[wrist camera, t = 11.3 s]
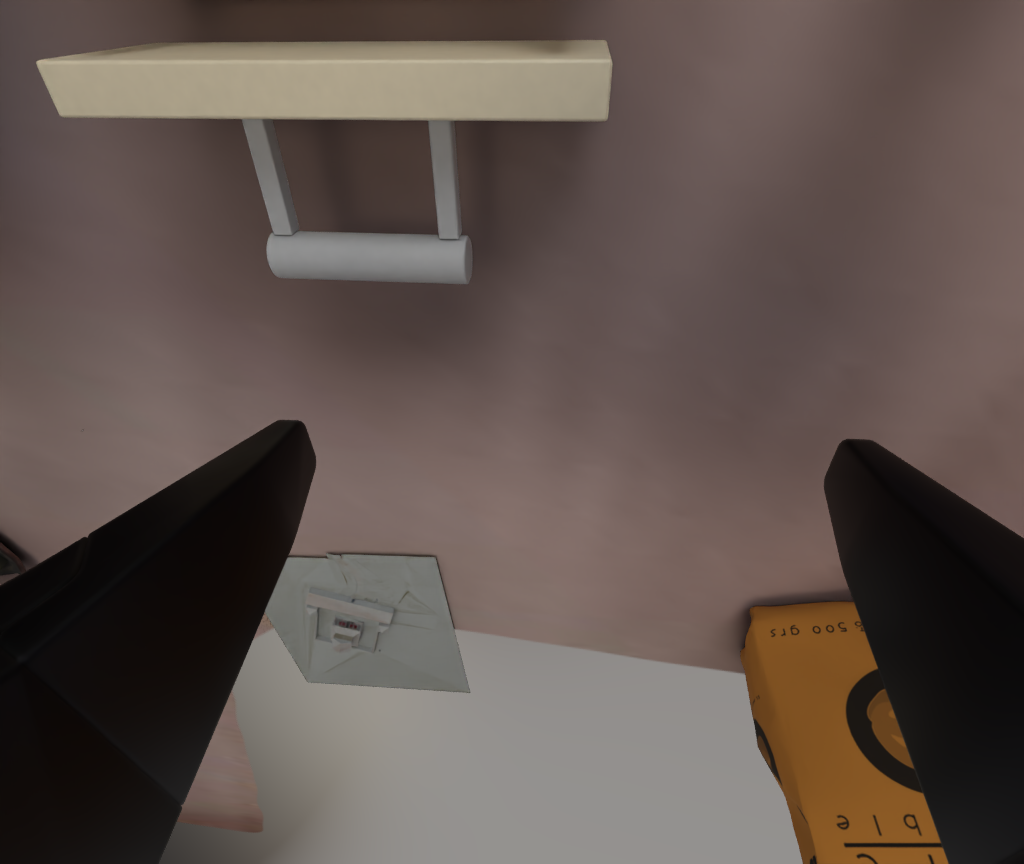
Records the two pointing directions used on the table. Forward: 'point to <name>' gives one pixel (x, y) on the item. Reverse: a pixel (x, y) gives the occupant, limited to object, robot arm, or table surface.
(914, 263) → the table surface
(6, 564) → the diary
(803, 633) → the coffee package
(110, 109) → the drawer
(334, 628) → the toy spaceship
